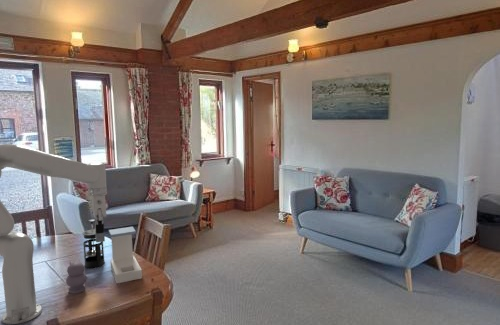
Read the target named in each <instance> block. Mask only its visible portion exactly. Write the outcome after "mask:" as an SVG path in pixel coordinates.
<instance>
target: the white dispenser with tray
mask: <svg viewBox="0 0 500 325" xmlns="http://www.w3.org/2000/svg"><path fill="white" fill-rule="evenodd" d="M108 234H109V236H110V238H111V246H112V247H111V250H112V259H110V269H111V272H112V275H113V277H114V280H115V283H116V284H123V283H126V282H131V281H134V280H141V279H142V278H143V272H142V271H143V269H142V267H141V266H140V264H139V262H138V261H137V259H136V256H135V255H134V252H133V250H134V249H133V235H135V234H137V231H136V230H135V228H134V226H128V227H127V226H126V227H120V228H114V229H108Z"/></svg>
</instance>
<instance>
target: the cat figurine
mask: <svg viewBox="0 0 500 325" xmlns="http://www.w3.org/2000/svg"><path fill="white" fill-rule="evenodd" d="M84 265H85V264H83V263H82V262H79V261H75V262H72V261H69V265H68V267H67V269H66V272H67V274H68V275H67V277H66V280H65V283H66V285H67V286H68V293H69V294H71V295H72V294H73V295H74V294H79V293H82V292H84V291H85V290H86V285H85V284H86V282H87V280H88V278H87V275H86V273H85V269H86V268H85V267H84Z"/></svg>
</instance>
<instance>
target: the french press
mask: <svg viewBox="0 0 500 325" xmlns="http://www.w3.org/2000/svg"><path fill="white" fill-rule="evenodd" d="M86 221H87V223H90V224H91V229H87V230H85V231H82V235H83V238H84V239H86V240H84V241H83V243H82V244H83V245H82V246H83V257H84V264H83V265H84V268H85V269H89V270H91V269H98V268H101V267H103V266H105V264H106V262H105V253H104V241H103V242H97V243H95V242H96V235H95V228H94V229H93V227H94V226H93V223H95V218H91V219H88V220H86ZM86 248H88V250H87V251H86Z"/></svg>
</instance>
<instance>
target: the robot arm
mask: <svg viewBox="0 0 500 325" xmlns="http://www.w3.org/2000/svg"><path fill="white" fill-rule="evenodd" d="M6 168H13V169H15V170H16V169H17V170H20V171H24V172H28V173H32V174H37V175H41V176H44V177H45V176H46V177H50V178H61V179H67V180H69V181H71V182H74V183H81V184H85V185H86V184H87V194H88V196H90V197H91V209H92V213H93V218H94V219H95V218H96V233H97V234H99V233H104V234H105V223H104V224H103V217H104V218H107V206H106V204H107V203H106V195H107V194H108V187H107V169H106V165H105V163H103V162H91V163H84V162H80V161H78V160H74V159H73V160H72V159H69V158H66V157H63V156H61V155H60V156H59V155H55V154H53V153H48V152H44V151H41V150H38V149H35V148H32V147H28V146H25V145H21V144H13V143H12V144H11V143H4V144H0V179H1V177H2V175H3V172H2V171H3V170H4V169H6ZM97 216H98V217H97ZM14 227H15V219H14V217H13V215H12V214H11V212H9V210H8V209H7V207H6V206H5V204H4V203H3V202H2V201H1V199H0V256H1V258H3V261H2V268H1V274H2V275H1V276H2V282H3V283H2V284H3V292H4V300H5V312H4V313H3V314H2V316H1V322H2V323H4V324H6V325H19V324H23V323H27V322H28V321H31V320H33V319H35V318H37V317H38V316H39V315H40V314H41V313H42V310H43V308H42V306H41V304H38V303H37V295H36V294H37V293H36V284H35V275H34V274H35V273H34V264H33V263H34V262H33V259H34V258H33V257H34V250H35V249H34V247H35V246H34V241H33V240H32V238H31V237H30V236H29V235H27V234H26V233H23V232H20V231H18V230H14Z"/></svg>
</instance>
